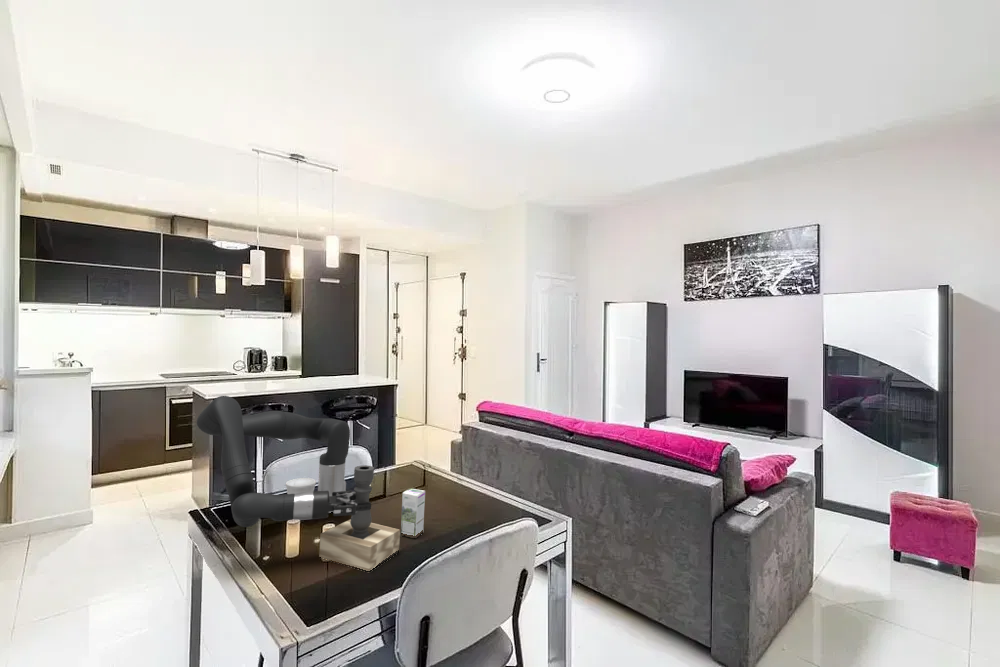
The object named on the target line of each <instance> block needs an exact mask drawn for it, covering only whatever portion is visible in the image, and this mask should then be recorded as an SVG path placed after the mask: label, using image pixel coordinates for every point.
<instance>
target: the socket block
mask: <svg viewBox="0 0 1000 667" xmlns="http://www.w3.org/2000/svg"><path fill="white" fill-rule="evenodd" d="M350 521H351V518H350V519H348V520H346V521H344V522H342V523H340V524H338V525H335V526H334V527H333V526H332V528H329V529H328V530H326V531H323V532H321V533H320V534H319V536H320V538H319V554H318V555H319V556H318V557H321V558H320V559H322V558H324V559H323V560H325V559H327V560H326V561H329V560H332V561H336V562H339V563H342V564H346V565H350V566H354V567H357V568H360V569H363V570H366V571H370V570H372V569H373V568H375V567H376V566H377V565H378V564H379V563H381V562H382V561H383V560H385V559H386V558H388V557H389V556H390V555H392V554H393V553H395V552H396V551H398V550H399V551H400V540H401V538H400V537H401V529H398V528H394V527H391V526H386V525H381V524H379V523H374V522H371V524H370V526H369V527H368V530H367V531H368V533H369V534H370V536H368V537H366V538H365V539H360V538H356V537H352V536H350V535H351V534H352V532H353V528H352V526H351V523H350ZM332 561H331V562H332ZM339 563H338V564H339ZM342 564H341V565H342ZM375 569H376V568H375ZM372 571H373V570H372Z"/></svg>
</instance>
